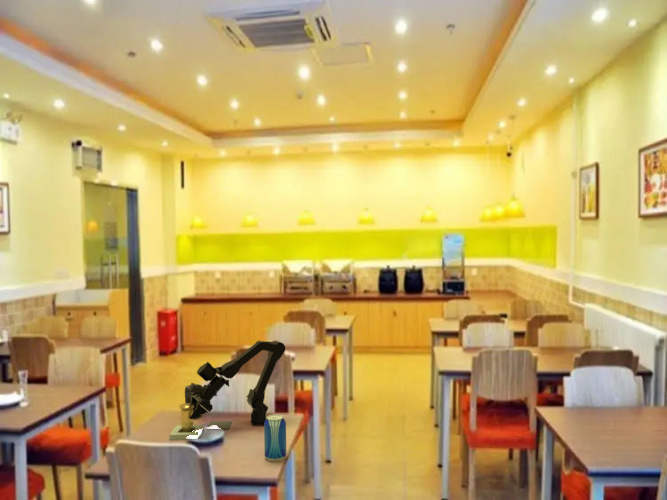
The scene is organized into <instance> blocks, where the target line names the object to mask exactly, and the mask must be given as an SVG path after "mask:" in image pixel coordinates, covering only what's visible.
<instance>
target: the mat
mask: <svg viewBox="0 0 667 500" xmlns="http://www.w3.org/2000/svg"><path fill="white" fill-rule="evenodd" d="M232 424H233V421H232V420H227V421H226V420H225V421H224V420H223V421H222V420H221V421H220V420H219V421H217V420H216V421H215V420H213V421H212V420H211V421H210V422H209V423H208V425H207V427H209V426H211V425H217V426H218V427H219V428H221V429H223V430H226V431H227V430H230V428H231V426H232ZM207 427H206V428H207Z"/></svg>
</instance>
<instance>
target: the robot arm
mask: <svg viewBox="0 0 667 500" xmlns="http://www.w3.org/2000/svg"><path fill="white" fill-rule="evenodd" d="M262 351H265V352H266V351H267V359H266V362H264V363H265V364H264V366H263V369H262V371H261V373H260V376H259V378H258V381H257V383H256V385H255V387H254V388H253V389H252V388H250V389H249V392H248V394H247V395H246V398H247V399H246V402H247V404H248V405H249V406H250V407H251V409H252V411H251V413H250V423H251V426H264V423H265V421H266V419H267V413H268V410H269V406H268V405H266V404H265V403H264V401H265V397H266V396H265V394H266V388H267V386H268V384H269V383H270V379H271V377H272V374H273V372H274V369H275V367H276V365H277V362H278V361H279V360H280V359H281V358H282V357H283V355H284V353H285V352H286V345H285V344H284V343H283V342H281V341H279V340H272V341H264V340H257V341H256V342H255V343H254V344H253V345H251V346H250V347H249V348H247V350H244V352H242V353H241V354H240V355H239V356H237V357H236V358H234V359H231V360H228V361H227V362H225V363H224V364H222V365H221V366H217V367H214V366H213V365H212V364H211V363H210V362H209V361H207V362H206V363H204V364H202V365H200V366H199V368H198V369H197V370H196V374H197V375H198V376H199V377H200V378H202V380H204V381H205V382H209V383H207V384H204V385H201V384H197V383H194V382H191V384H189V385H190V388H189V390H190V391H191V392H192V393H191V394H192V395H193V396H192V395H191V402H190V403H192V404H194V408H193V410H194V409H195V408H196V409H195V410H194V412H193V413H192V415H191V416H190V419H193V420H195V419H194V418H196V417H198V416H200V415H201V416H202V415H204V414H206V413H210V412H211V411H212V410H213V407H214V406H213V405H212V403H211V402H212V399H213V398H214V397H218V392H219V391H220V390H222V388H223V387H224V386H226V387H228V388H229V387H230V380H229V379H232V378H234V377H235V376H236V375H237V374H238V373H239V372H240V370H241V369H242V367H243V366H244V365H246V364H247V363H248V362H249V361H251V360H252V359H253V358H254V357H255V356H257V355H258V354H259V353H261V352H262Z"/></svg>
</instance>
